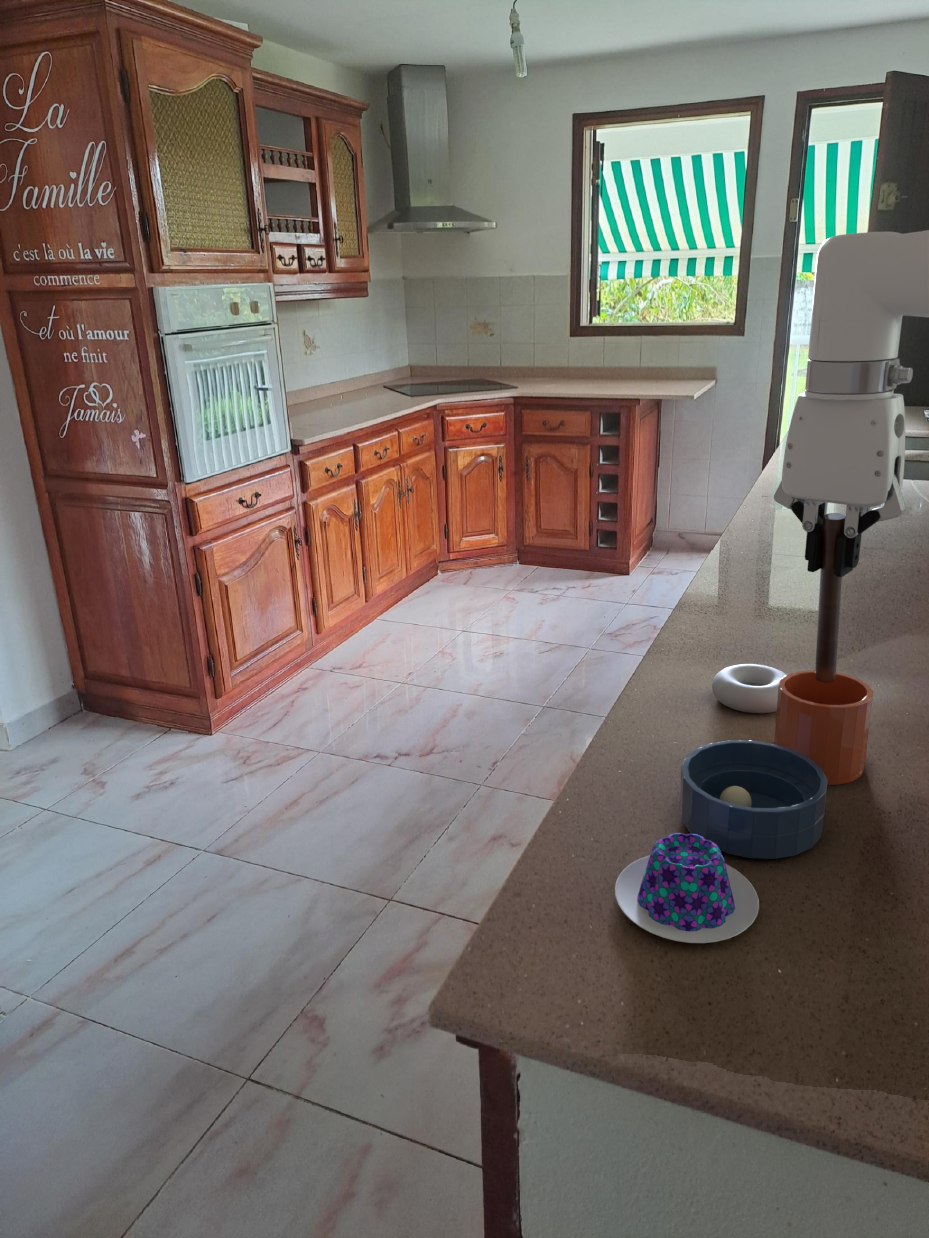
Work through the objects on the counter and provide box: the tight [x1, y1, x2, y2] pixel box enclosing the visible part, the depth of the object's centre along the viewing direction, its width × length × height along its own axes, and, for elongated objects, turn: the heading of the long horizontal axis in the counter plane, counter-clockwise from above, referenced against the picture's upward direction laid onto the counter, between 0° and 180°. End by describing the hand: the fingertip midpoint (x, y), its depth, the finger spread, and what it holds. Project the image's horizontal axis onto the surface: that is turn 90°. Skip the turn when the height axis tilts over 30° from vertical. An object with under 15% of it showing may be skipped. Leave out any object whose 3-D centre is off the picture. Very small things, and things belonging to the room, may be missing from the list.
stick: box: [814, 512, 846, 683], centre depth 89 cm, size 2×2×18 cm
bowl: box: [679, 739, 828, 860], centre depth 85 cm, size 13×13×6 cm
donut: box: [711, 663, 787, 714], centre depth 110 cm, size 10×4×10 cm
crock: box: [773, 669, 874, 786], centre depth 94 cm, size 9×9×9 cm
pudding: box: [614, 832, 760, 944], centre depth 75 cm, size 12×12×5 cm
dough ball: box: [720, 786, 752, 807], centre depth 86 cm, size 3×3×3 cm
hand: (830, 569), depth 87 cm, fingers closed on stick, 2 cm apart
